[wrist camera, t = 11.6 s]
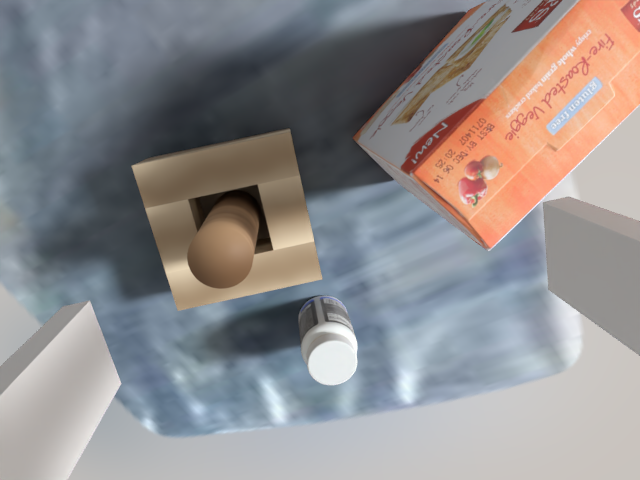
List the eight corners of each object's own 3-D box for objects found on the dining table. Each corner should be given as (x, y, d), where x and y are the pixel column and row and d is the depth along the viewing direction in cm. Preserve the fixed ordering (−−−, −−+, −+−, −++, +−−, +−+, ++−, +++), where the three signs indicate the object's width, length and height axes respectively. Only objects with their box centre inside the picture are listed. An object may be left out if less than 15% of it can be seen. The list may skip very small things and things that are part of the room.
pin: (208, 195, 40) (179, 235, 29) (254, 185, 40) (244, 221, 29) (220, 239, 42) (197, 294, 30) (265, 230, 42) (259, 281, 30)
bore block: (149, 157, 40) (131, 165, 35) (289, 127, 40) (290, 131, 35) (189, 287, 44) (177, 310, 39) (317, 259, 44) (322, 279, 39)
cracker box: (465, 5, 39) (661, -94, 19) (512, 59, 40) (741, 22, 20) (345, 135, 41) (406, 173, 21) (394, 182, 42) (495, 259, 22)
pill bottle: (308, 346, 46) (313, 398, 38) (291, 304, 45) (293, 349, 37) (354, 329, 46) (369, 378, 38) (338, 287, 45) (351, 328, 37)
